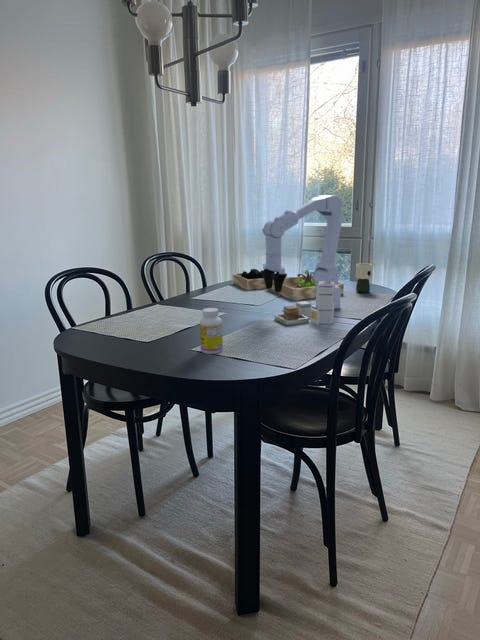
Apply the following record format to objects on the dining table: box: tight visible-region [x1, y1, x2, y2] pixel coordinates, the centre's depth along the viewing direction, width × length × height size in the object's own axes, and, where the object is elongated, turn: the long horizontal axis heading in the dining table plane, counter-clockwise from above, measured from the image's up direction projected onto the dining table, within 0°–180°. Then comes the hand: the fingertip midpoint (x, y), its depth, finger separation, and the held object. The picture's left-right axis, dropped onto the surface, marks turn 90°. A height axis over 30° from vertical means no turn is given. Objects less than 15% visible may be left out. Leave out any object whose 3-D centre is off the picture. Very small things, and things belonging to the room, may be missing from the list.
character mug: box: [355, 262, 373, 293], centre depth 218 cm, size 11×7×13 cm, turn 153°
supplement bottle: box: [199, 307, 224, 355], centre depth 141 cm, size 7×7×13 cm
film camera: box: [241, 268, 263, 280], centre depth 237 cm, size 15×10×9 cm, turn 69°
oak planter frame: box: [267, 274, 345, 301], centre depth 221 cm, size 26×26×5 cm
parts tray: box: [274, 313, 310, 327], centre depth 173 cm, size 9×9×2 cm
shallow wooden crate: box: [232, 272, 266, 291], centre depth 240 cm, size 20×20×5 cm
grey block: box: [295, 300, 312, 317], centre depth 180 cm, size 4×4×5 cm
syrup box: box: [316, 281, 335, 325], centre depth 170 cm, size 6×6×14 cm
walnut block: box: [283, 305, 299, 320], centre depth 173 cm, size 4×4×5 cm
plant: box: [289, 269, 316, 289], centre depth 219 cm, size 20×20×11 cm
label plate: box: [309, 307, 320, 326], centre depth 169 cm, size 1×5×5 cm, turn 23°
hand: (273, 290), depth 179 cm, fingers open, 7 cm apart
